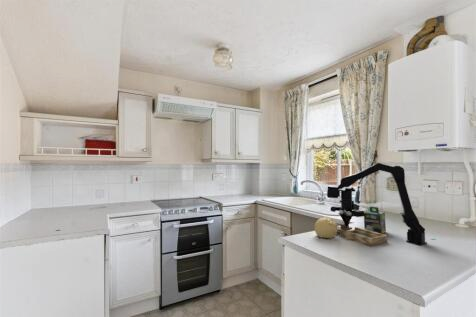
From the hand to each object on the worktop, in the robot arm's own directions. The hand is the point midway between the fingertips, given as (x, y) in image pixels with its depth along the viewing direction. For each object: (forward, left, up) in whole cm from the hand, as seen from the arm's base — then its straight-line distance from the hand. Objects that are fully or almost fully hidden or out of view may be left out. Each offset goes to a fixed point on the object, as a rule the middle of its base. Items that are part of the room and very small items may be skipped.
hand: (346, 226), depth 135 cm
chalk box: (-4, -19, -5) cm, 20 cm away
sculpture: (+2, +14, -5) cm, 15 cm away
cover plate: (+7, +1, -3) cm, 8 cm away
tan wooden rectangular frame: (-10, 0, -5) cm, 11 cm away
